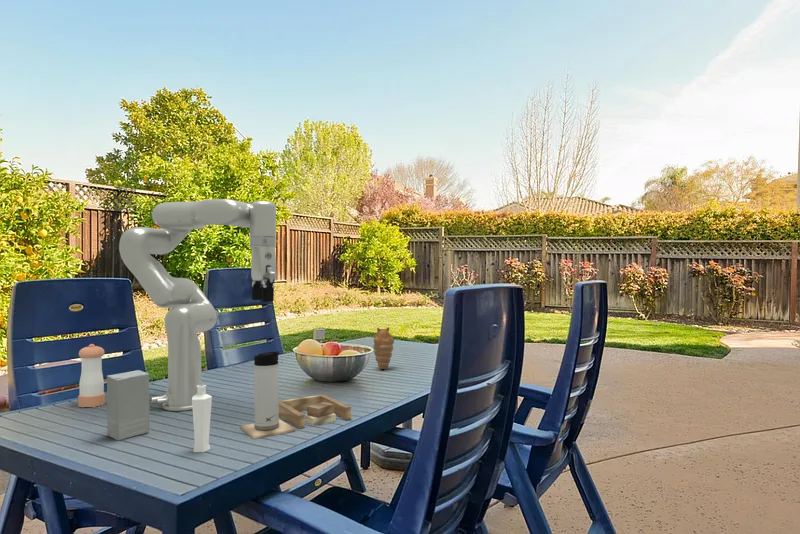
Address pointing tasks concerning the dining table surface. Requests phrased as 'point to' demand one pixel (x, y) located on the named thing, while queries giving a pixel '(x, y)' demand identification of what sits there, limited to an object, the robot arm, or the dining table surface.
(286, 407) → the frame
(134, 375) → the skincare box
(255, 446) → the dining table surface
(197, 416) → the perfume bottle
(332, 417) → the offcut lower
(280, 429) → the cork mat
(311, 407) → the offcut upper
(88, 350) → the pepper shaker
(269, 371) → the travel mug
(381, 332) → the cat ice cream
